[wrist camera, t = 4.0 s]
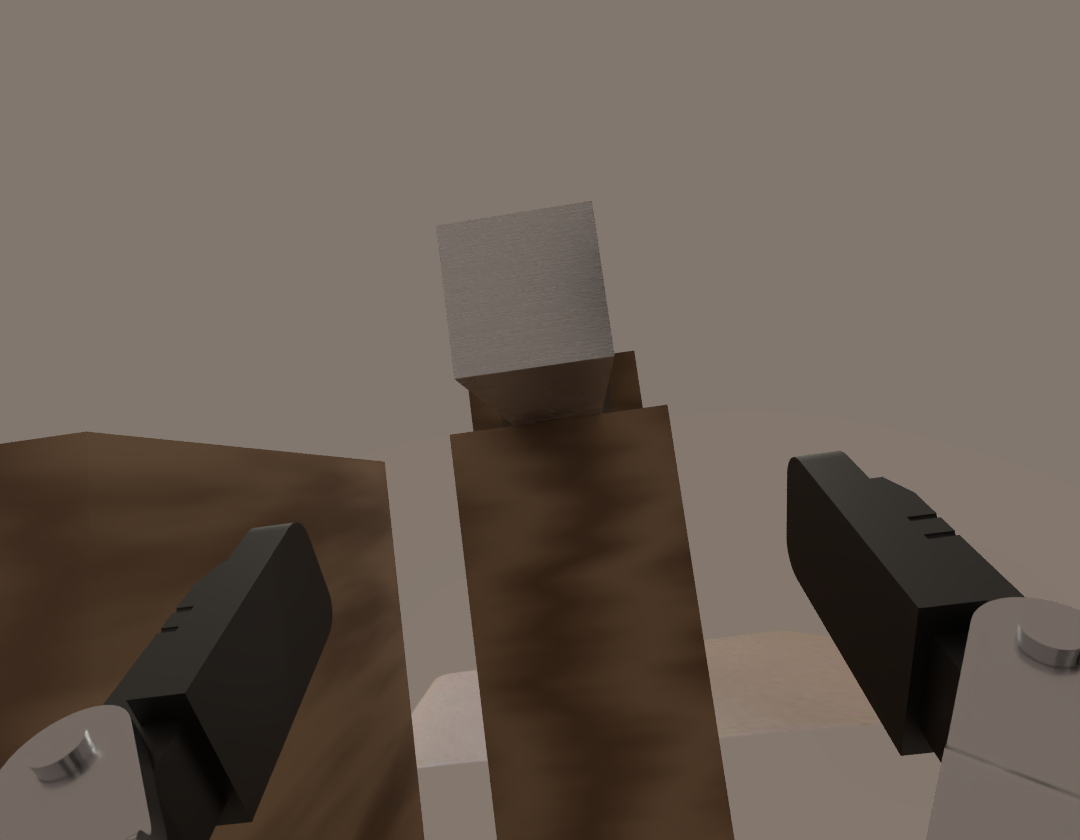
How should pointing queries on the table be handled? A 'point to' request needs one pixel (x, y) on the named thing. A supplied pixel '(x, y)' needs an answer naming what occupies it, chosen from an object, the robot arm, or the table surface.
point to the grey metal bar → (528, 312)
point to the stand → (398, 616)
